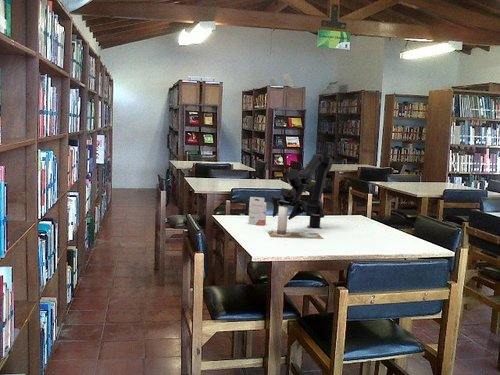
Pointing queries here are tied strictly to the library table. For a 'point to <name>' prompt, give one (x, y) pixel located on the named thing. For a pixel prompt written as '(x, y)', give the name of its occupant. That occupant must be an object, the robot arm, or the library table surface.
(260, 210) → the ink cartridge box
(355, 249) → the library table surface
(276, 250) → the library table surface
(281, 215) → the frosted light bulb
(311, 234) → the grey coaster
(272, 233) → the terracotta coaster
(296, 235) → the walnut board
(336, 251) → the library table surface
